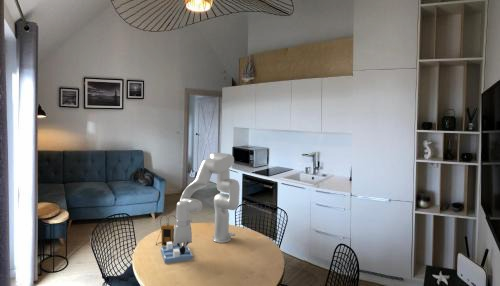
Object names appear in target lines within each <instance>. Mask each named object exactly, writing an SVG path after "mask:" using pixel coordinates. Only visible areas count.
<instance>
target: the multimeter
mask: <svg viewBox="0 0 500 286" xmlns="http://www.w3.org/2000/svg"><path fill="white" fill-rule="evenodd" d="M164 216H165V217H166V218H167V222H166V224H162V219H163V218H162V217H163V216H161V218H160V220H159V221H160V222H159V223H160V225H161V227H160V228H161V229H160V232H159V235H158V237H157V240H156V242H155V244H158V240H159V237H160V234H161V241H160V242H159V244H160V243H161V246H167V242H171V241H172V244H173V242H174V240H173V236H174V227H175V224H170V219H169V218H170V217H175V215H169V216H167V215H166V214H164ZM175 219H176V217H175ZM173 245H174V244H173Z"/></svg>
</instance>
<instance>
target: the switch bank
mask: <svg viewBox="0 0 500 286" xmlns="http://www.w3.org/2000/svg"><path fill="white" fill-rule="evenodd" d="M173 249H179V251H180V247H179V246H178V245H174V244H173ZM173 249H170V250H167V246H166V245H164V246H160V253H161V256H162V259H163V262H164V264H170V263H177V262H184V261H192V260H194V258H193V257H194V255H193V253H192V252H191V249H190V247H189V246H188V245H187V246H186V252H184V254H181V253H180V257H173Z"/></svg>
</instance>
